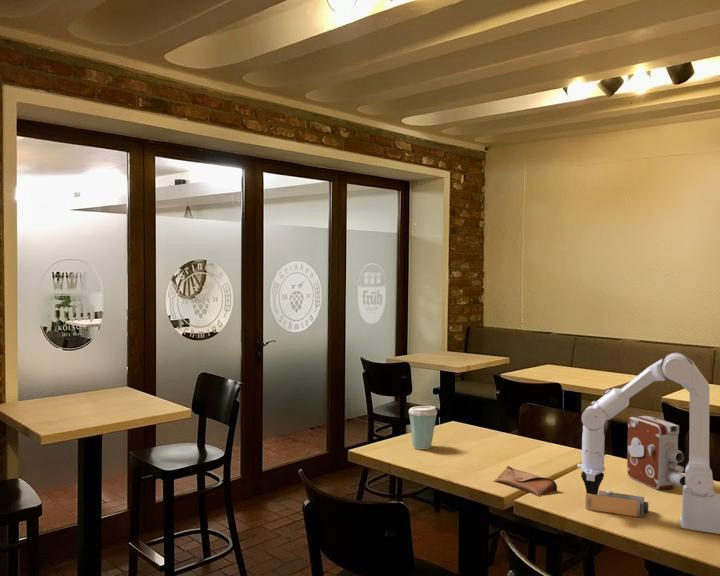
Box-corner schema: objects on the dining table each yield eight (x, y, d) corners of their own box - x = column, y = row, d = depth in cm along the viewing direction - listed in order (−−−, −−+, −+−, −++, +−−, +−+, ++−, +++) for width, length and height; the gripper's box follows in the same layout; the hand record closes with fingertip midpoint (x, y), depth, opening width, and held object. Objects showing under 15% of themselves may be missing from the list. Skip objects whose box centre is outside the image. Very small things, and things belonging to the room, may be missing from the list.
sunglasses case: (490, 480, 192) (497, 460, 194) (502, 488, 196) (509, 468, 198) (541, 497, 178) (548, 475, 180) (552, 505, 182) (559, 483, 184)
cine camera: (668, 497, 179) (669, 428, 179) (622, 476, 198) (624, 414, 197) (694, 495, 181) (695, 427, 181) (647, 474, 200) (648, 413, 200)
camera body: (648, 510, 169) (648, 495, 169) (648, 518, 163) (648, 502, 163) (599, 502, 174) (599, 488, 174) (597, 510, 169) (597, 495, 169)
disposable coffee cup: (404, 449, 225) (405, 408, 225) (411, 442, 235) (411, 402, 235) (433, 452, 222) (434, 410, 222) (438, 444, 232) (439, 405, 232)
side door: (639, 516, 164) (640, 501, 164) (639, 517, 163) (639, 502, 163) (585, 507, 170) (586, 493, 170) (585, 509, 169) (585, 494, 168)
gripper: (580, 442, 178) (579, 489, 179) (574, 455, 165) (573, 505, 165) (606, 445, 175) (605, 493, 176) (603, 458, 162) (602, 510, 162)
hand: (592, 499), depth 170 cm, fingers closed
